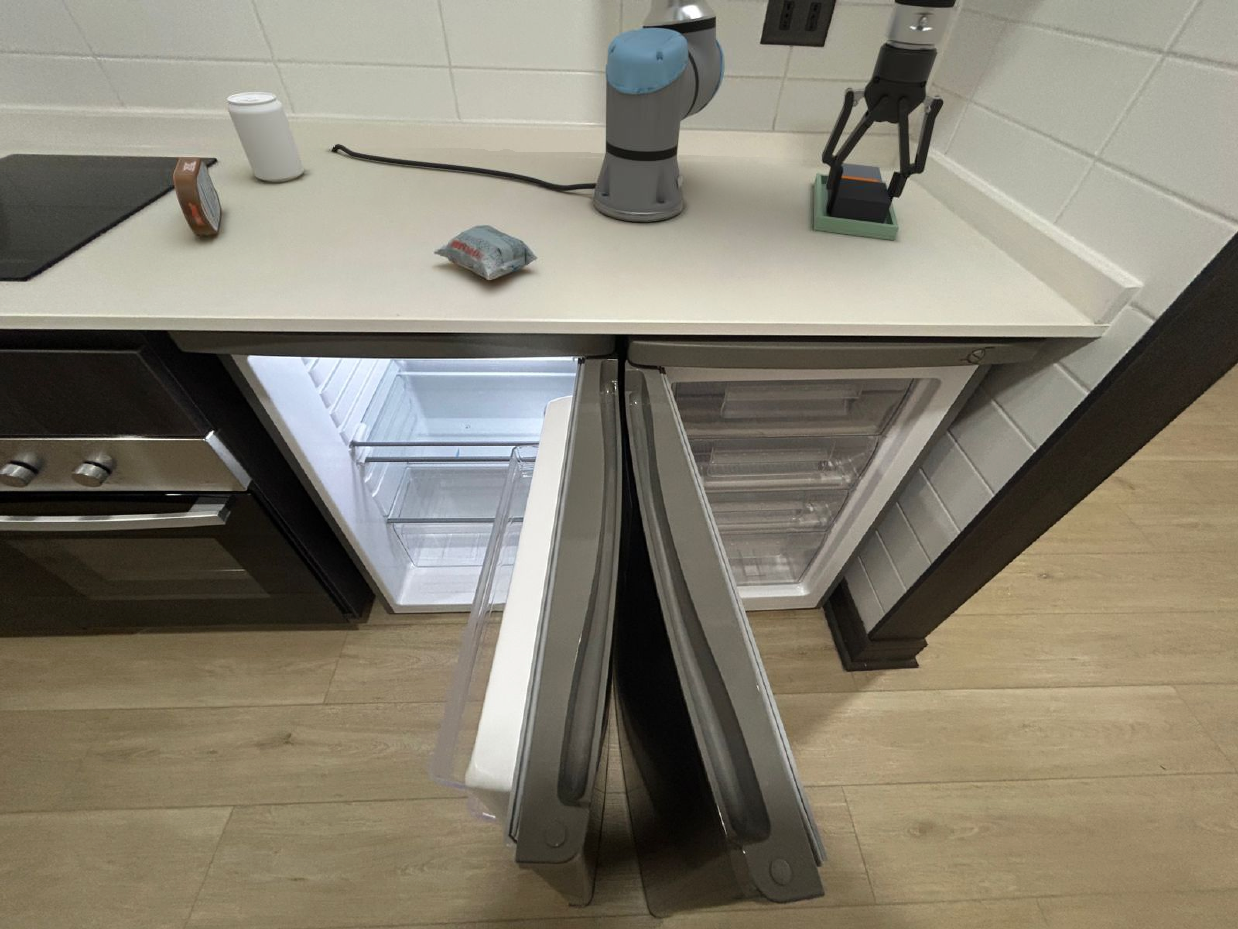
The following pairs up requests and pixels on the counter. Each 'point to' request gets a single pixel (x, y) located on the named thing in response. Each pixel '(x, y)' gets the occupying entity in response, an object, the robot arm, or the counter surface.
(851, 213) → the loose pad
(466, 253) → the packaged food
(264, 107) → the beverage can
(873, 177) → the pad
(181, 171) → the tin
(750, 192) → the counter surface
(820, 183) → the green tray
